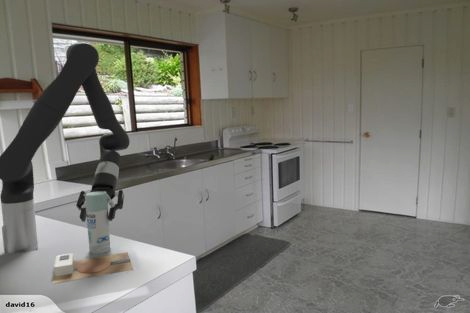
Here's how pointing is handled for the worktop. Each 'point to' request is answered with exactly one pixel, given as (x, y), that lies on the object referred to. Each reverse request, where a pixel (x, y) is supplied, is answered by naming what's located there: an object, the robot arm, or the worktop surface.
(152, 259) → the worktop surface
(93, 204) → the spray paint can
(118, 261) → the plywood panel
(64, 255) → the block
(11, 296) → the worktop surface
